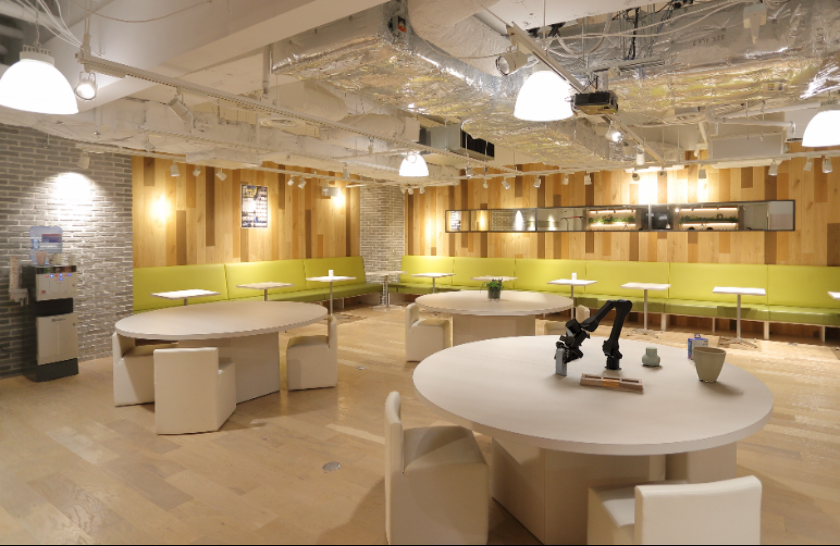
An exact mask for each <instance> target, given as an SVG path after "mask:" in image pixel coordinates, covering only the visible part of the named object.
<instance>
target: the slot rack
mask: <svg viewBox="0 0 840 546" xmlns="http://www.w3.org/2000/svg"><path fill="white" fill-rule="evenodd" d="M580 387H587V388H588V387H590V388H598V389H608V390H617V391H626V392H635V393H643V389H644V383H643V379H642V378H631V377H624V376H611V375H602V374H592V373H581V377H580Z"/></svg>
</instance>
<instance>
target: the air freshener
mask: <svg viewBox="0 0 840 546" xmlns="http://www.w3.org/2000/svg"><path fill="white" fill-rule="evenodd" d="M641 362H642V364H644V365H645V366H649V367H656V366H659V365H660V363H661V357H660V355H658V347H655V346H646V347H645V354H643V355H642V358H641Z"/></svg>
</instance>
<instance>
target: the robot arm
mask: <svg viewBox="0 0 840 546" xmlns="http://www.w3.org/2000/svg"><path fill="white" fill-rule="evenodd" d="M633 305H634V304H633V301H631V300H629V299H624V298H619V299H608V300H606V302H605V303H604V304H603V305H602V306H601V307H600V308H599V309H598V310H597V311H596V312H595V313H593V315H592V316H590V317H587V318H586V319H584V320H583V321H582V322H579V321H578V320H577V318H576V317H573V318H572V319H569V320H567V321H566V322H565V324H564V328H566V330H569V331H570V332H571V333H572V334H574V336H573V337H571V336H568V337H566V335H563V334H560V337H559V339H558V340H557V341H556V342H555V347H556V349H563V350H565V351H567V350H568V351H570V352H569V355H568V354H567V358H566V360H565V361H564V364H566V363H567V364H569V363H571V362H573V361H577V360H579V359H582V358H583V357H584V352H583V351H582V350H581V349H580V347H582V346H583V345H582V343H584V341H585V340H586V339H588V340H591V333H595V332H596V331H597V329H598V327H599V325H600V323H601V321H602V320H603V319H604V318H605V317H606V316H607V315H608V314H609V313H610V312H612V310H613V309H615V312H616V313H615V318H614V320H613V324H612V327H611V330H610V333H609V336H608V338H607V340H606V339H604V340H603V343H602V345H601V347H602V350H601V351H602V352H603V354H604V357H606V360H605V364H606V365H605V366H604V369H605V368H606V369H608V370H611V371H616V370H617V371H618V370H622V367H620V360H622V359H623V356H624V355H623V354H622V352H621V351H620V344H619V339H620V336H621V332H622V330H623V327H624V323H625V320H626V317H627V316H628V315H629V314H630V313H631V310H632V309H633ZM578 347H579V348H578ZM553 359H554V360H555V361H556V353H555V354H554V356H553Z"/></svg>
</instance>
